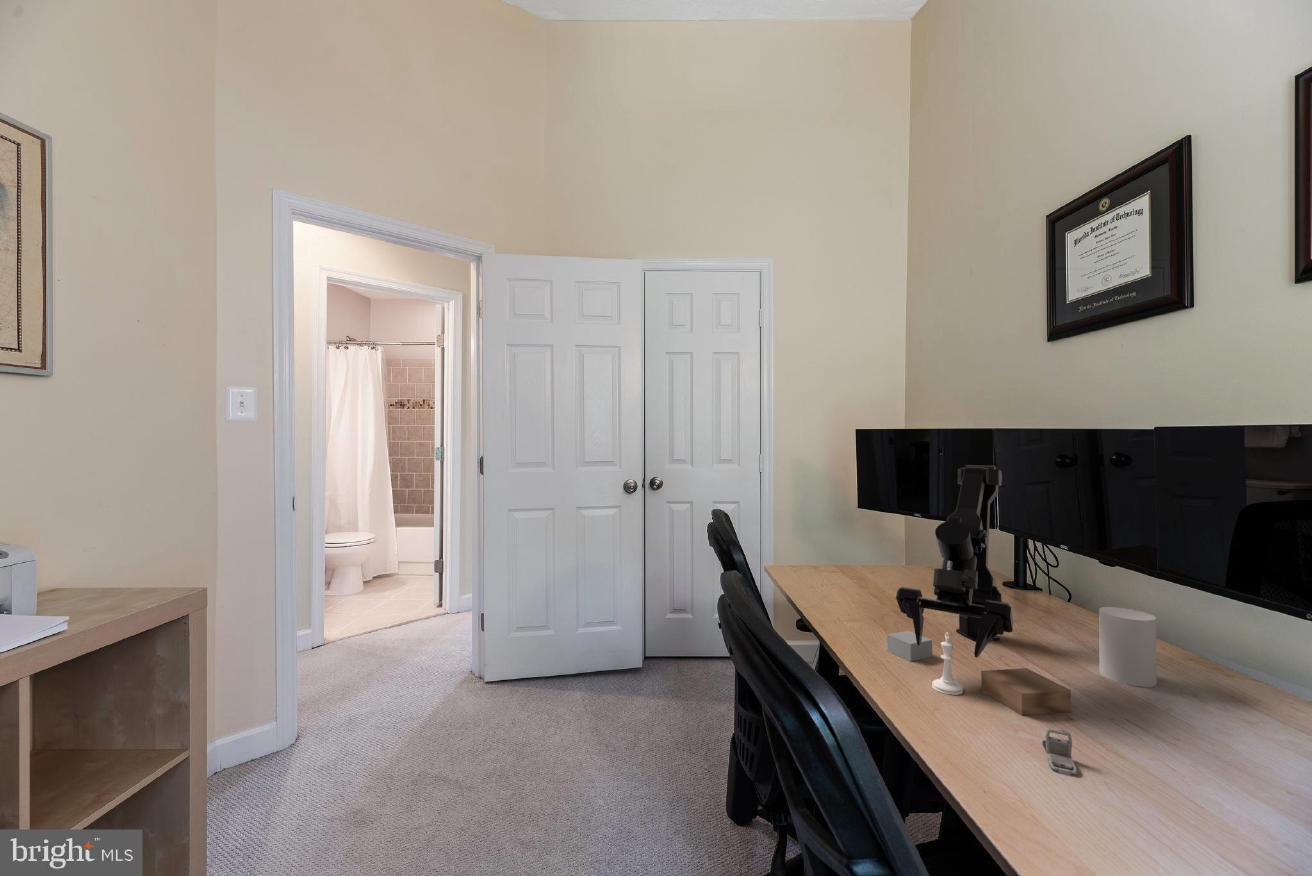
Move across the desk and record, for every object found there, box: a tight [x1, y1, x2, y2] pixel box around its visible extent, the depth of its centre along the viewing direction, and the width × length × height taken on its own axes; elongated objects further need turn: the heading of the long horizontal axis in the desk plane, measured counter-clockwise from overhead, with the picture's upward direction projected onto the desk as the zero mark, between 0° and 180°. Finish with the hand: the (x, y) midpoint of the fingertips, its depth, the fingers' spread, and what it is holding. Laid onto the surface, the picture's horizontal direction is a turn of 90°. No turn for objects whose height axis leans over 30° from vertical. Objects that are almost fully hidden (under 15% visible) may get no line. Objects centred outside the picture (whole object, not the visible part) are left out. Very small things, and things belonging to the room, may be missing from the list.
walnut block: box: [980, 667, 1072, 716], centre depth 94 cm, size 9×9×4 cm
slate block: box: [886, 630, 933, 662], centre depth 114 cm, size 6×6×4 cm
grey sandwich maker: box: [1041, 727, 1078, 777], centre depth 76 cm, size 8×3×4 cm, turn 152°
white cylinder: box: [1098, 606, 1157, 688], centre depth 103 cm, size 8×8×12 cm
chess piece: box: [931, 631, 964, 696], centre depth 98 cm, size 5×5×10 cm
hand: (946, 650), depth 97 cm, fingers open, 9 cm apart
